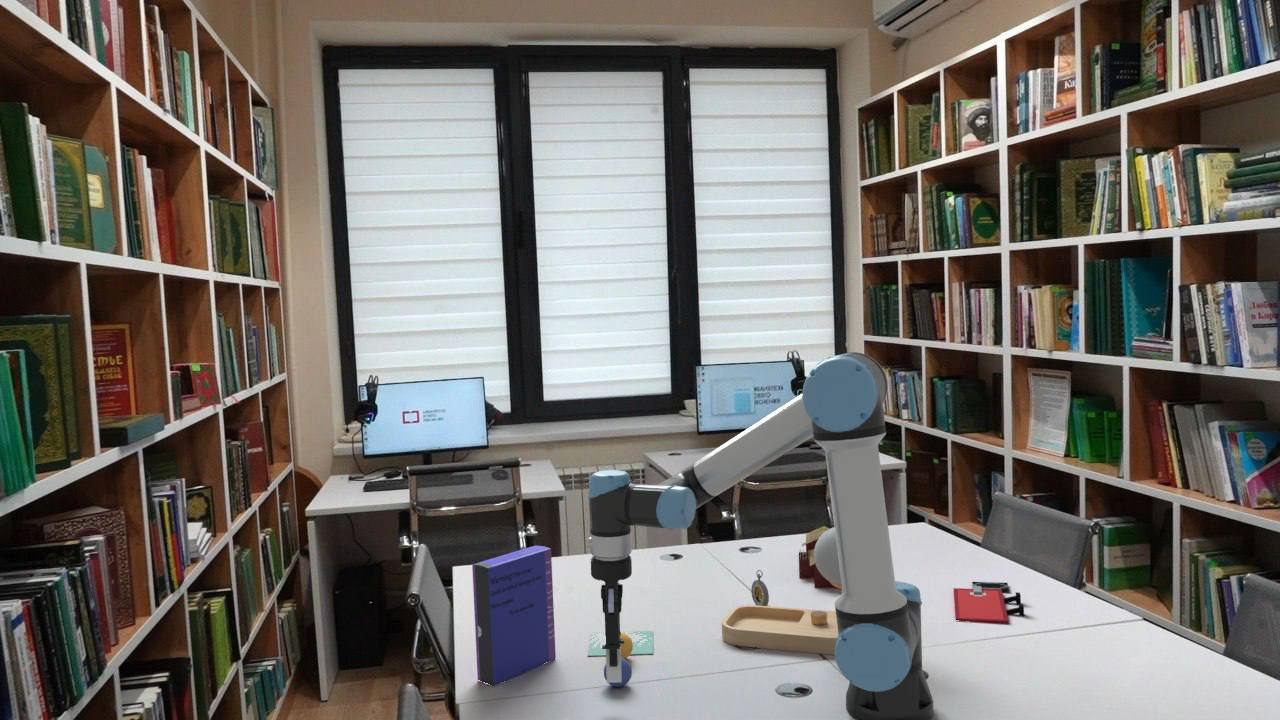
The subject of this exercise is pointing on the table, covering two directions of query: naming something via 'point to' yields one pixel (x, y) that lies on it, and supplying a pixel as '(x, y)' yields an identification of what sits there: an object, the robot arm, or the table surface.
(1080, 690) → the table surface
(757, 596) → the pocket watch
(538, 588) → the purple book
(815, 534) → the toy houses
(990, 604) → the red board with handle
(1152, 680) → the table surface
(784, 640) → the lamp
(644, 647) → the green mark
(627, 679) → the blue ball
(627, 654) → the orange ball
